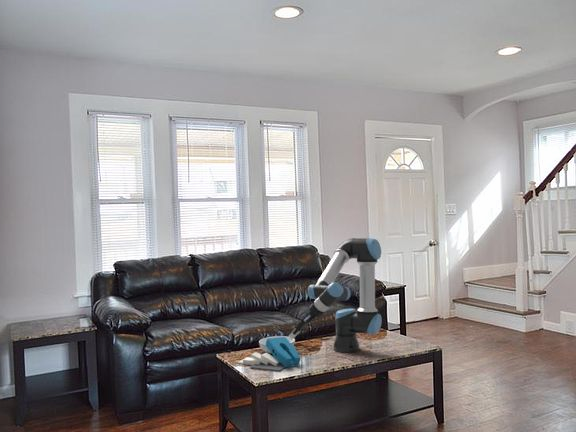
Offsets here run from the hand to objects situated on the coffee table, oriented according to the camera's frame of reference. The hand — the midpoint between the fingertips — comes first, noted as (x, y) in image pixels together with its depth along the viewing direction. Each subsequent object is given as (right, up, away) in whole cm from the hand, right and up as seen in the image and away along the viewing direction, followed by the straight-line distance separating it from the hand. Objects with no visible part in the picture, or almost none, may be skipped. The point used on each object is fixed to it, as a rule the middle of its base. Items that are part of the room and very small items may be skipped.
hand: (290, 337), depth 267 cm
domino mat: (-10, -16, +5) cm, 20 cm away
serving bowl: (-8, -16, +31) cm, 35 cm away
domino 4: (-6, -14, +3) cm, 16 cm away
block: (+1, -13, +1) cm, 13 cm away
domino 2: (-16, -15, +7) cm, 23 cm away
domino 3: (-11, -14, +5) cm, 19 cm away
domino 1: (-18, -16, +8) cm, 26 cm away
